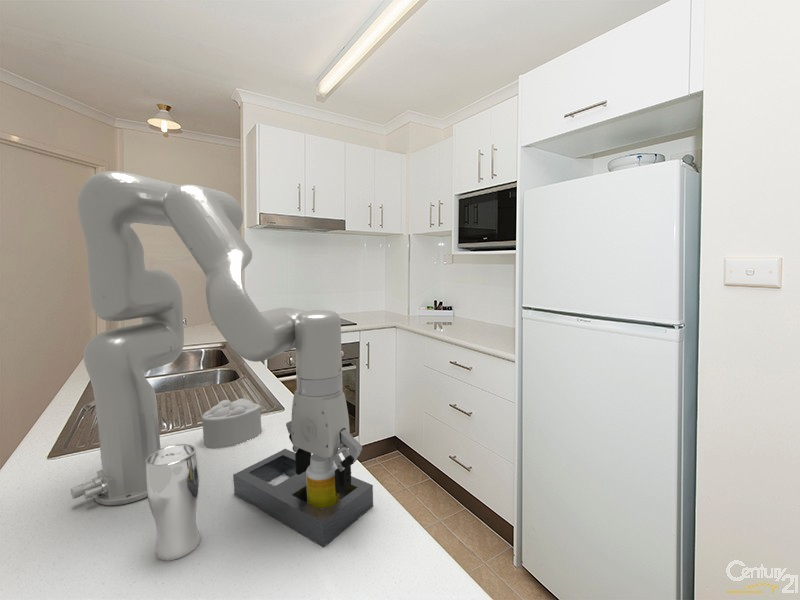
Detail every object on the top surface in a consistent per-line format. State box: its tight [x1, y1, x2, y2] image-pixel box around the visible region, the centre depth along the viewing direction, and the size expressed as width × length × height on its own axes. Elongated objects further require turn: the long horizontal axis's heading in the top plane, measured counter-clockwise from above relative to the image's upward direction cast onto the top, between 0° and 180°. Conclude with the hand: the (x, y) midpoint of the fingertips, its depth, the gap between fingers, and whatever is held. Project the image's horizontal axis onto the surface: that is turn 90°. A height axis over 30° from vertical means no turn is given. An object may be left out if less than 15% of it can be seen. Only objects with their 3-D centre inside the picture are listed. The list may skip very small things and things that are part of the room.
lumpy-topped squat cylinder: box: [201, 397, 263, 449], centre depth 97 cm, size 10×13×9 cm
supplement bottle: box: [306, 454, 340, 512], centre depth 67 cm, size 6×6×10 cm
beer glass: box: [146, 443, 201, 562], centre depth 59 cm, size 7×7×15 cm
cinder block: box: [233, 448, 374, 548], centre depth 71 cm, size 12×24×4 cm, turn 55°
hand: (322, 479), depth 67 cm, fingers open, 9 cm apart
